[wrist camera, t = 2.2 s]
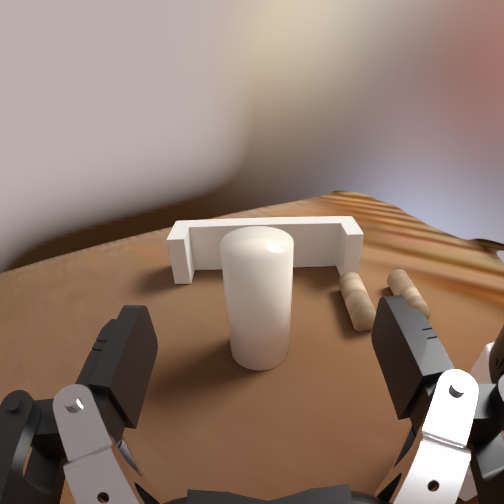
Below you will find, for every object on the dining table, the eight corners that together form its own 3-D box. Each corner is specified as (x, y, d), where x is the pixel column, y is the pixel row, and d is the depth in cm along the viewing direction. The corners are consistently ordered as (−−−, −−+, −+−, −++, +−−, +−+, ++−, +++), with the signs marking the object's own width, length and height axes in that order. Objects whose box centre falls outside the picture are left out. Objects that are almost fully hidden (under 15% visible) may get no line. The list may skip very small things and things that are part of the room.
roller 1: (359, 336, 29) (349, 321, 28) (343, 294, 35) (334, 279, 34) (382, 324, 28) (373, 308, 27) (363, 283, 35) (354, 267, 33)
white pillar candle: (229, 370, 26) (216, 262, 20) (232, 329, 30) (223, 227, 25) (290, 369, 25) (298, 259, 20) (286, 328, 30) (289, 225, 24)
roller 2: (419, 304, 27) (434, 311, 28) (395, 266, 33) (410, 273, 34) (403, 322, 28) (419, 328, 29) (382, 283, 35) (397, 290, 35)
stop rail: (175, 283, 37) (166, 239, 34) (182, 262, 41) (176, 221, 38) (356, 278, 37) (364, 234, 34) (346, 257, 41) (351, 216, 38)
